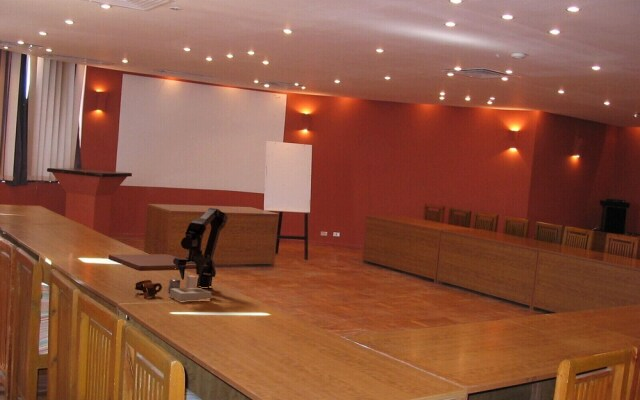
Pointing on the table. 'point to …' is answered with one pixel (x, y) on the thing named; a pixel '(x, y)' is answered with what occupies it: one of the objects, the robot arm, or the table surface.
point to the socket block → (189, 294)
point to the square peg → (190, 282)
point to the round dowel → (174, 284)
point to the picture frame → (148, 261)
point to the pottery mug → (148, 288)
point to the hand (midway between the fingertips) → (191, 279)
